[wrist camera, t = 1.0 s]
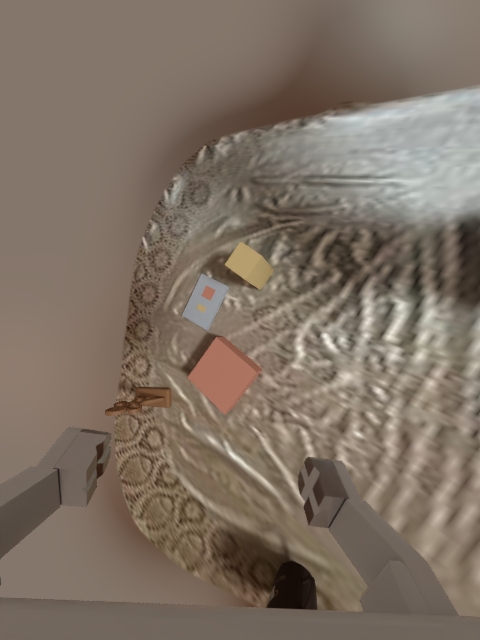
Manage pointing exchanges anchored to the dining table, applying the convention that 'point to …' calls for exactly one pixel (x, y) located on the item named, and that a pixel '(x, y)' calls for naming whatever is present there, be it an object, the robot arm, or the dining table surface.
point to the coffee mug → (293, 588)
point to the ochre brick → (249, 265)
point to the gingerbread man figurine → (143, 401)
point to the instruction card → (205, 301)
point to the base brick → (224, 374)
